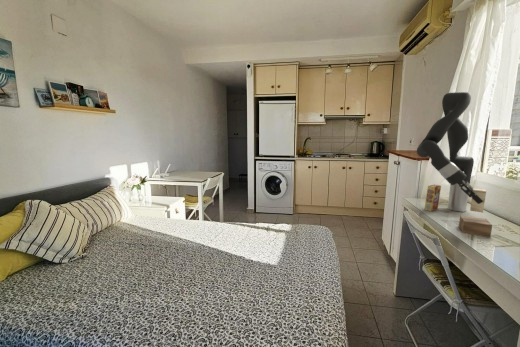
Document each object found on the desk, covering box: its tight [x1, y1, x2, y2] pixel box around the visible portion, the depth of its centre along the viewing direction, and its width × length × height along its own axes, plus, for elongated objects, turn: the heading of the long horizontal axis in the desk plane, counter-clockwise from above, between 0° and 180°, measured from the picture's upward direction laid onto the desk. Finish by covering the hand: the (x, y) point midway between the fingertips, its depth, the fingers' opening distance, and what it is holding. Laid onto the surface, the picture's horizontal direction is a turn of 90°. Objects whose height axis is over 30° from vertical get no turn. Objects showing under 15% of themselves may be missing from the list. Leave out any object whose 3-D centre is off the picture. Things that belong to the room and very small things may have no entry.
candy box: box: [424, 184, 442, 212], centre depth 154 cm, size 9×4×15 cm, turn 123°
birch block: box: [469, 188, 487, 214], centre depth 117 cm, size 4×4×10 cm
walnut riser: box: [458, 214, 493, 238], centre depth 119 cm, size 10×10×6 cm
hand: (480, 201), depth 117 cm, fingers closed on birch block, 4 cm apart
